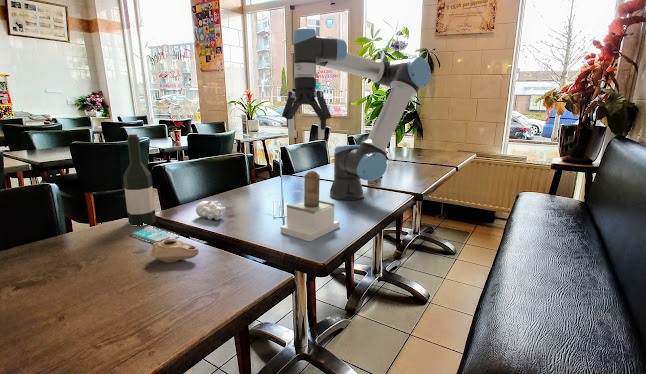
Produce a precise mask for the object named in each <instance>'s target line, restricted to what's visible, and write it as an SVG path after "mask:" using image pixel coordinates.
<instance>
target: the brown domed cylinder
mask: <svg viewBox="0 0 646 374" xmlns="http://www.w3.org/2000/svg"><path fill="white" fill-rule="evenodd" d="M320 178H321V177H320V174H318V172H316V171H314V170H309V171H308V172H307V173H306V174H304V181H303V182H304V186H303V187H304V189H303V190H304V191H303V192H304V193H303V195H304V196H303V198H304V199H303V202H304V206H305V207H310V208H314V207H318V206H319V200H320V182H321V181H320V180H321V179H320Z"/></svg>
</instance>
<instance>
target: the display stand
mask: <svg viewBox="0 0 646 374" xmlns="http://www.w3.org/2000/svg"><path fill="white" fill-rule="evenodd" d="M339 228H340V221H339V220H335V203H333V202H330V201H325V200H320V199H319V206H318V207H314V208H310V207H305V206H304V201H301V202H298V203H295V204H287V205H286V224H284V225H282V226H280V233H281V234H284V235H287V236H291V237H293V238H297V239H300V240H302V241H306V242H307V241H308V242H311V241H314V240H317V239H318V238H320V237H322V236H324V235H327V234H328V233H330V232H332V231H335V230H337V229H339Z"/></svg>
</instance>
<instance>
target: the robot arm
mask: <svg viewBox="0 0 646 374" xmlns="http://www.w3.org/2000/svg"><path fill="white" fill-rule="evenodd" d="M292 43H293V57H294V59H293V62H294V63H293V66H294V67H293V68H294V72H293V73H294V89H295V91H288V93H287V100H286V103H285V106H284V108H283V112H282V114H281V117H282V118H285V119H286V129H287V133H288V135H287V136H288V138H294V137H296V136H295V119H294V116H295V115H296V113H297V112H298V110H299V109H300V107H301V106H302V105H309V106H311V109H313V111H314V112H315V114H316V115H317V117H318V120H317V125H318V127H317V140H325V130H326V129H327V120H329V119H331V118H332V114H331V113H330V109H329V107H328V105H327V102H326V100H325V97H324V91H323V90H317V91H316V88H317V79H316V76H317V66H320V67H324V68H328V69H331V70H335V71H339V72H343V73H347V74H350V75H355V76H359V77H361V78H365V79H370V81H371V82H373V84H374V83H375V84H378V85H382V86H385V87H388V88H391V90H390V92H389V94H388V96H387V98H386V100H385V102H384V103H383V107H382V108H381V109H380V113H379V114H378V116H377V118H376V121H375V122H374V124H373V127H372V128H371V130H370V132H369V134H368V136H367V139H366V140H362V141H361V143H360V144H352V145H351V144H350V145H349V144H348V145H337V146H335V148H334V153H333V156H334V157H333V158H334V160H333V161H334V164H333V181H332V183H331V187H330V189H329V197H331V198H332V199H335V200H341V201H355V200H361V199H363V198H364V189H363V186H362V183H361V180H364V181H370V182H372V181H373V182H374V181H377V180H378V179H380V178H381V177H383V176H384V174H385V173H386V171H387V168H388V163H387V162H388V159H387V156H388V152H387V147H388V145H389V143H390V141H391V139H392V136H393V135H394V133H395V130H396V129H397V127H398V125H399V122H400V120H401V119H402V116H403V114H404V112H405V110H406V108H407V106H408V103H409V102H410V100H411V98H414V97H417V94H418V92H419V90H420V88H424V87H426V86H427V85H428V84H429V82H430V80H431V76H432V71H431V66H430V64H429V62H428V61H427V60H426V59H425V58H423V57H420V56H419V57H416V56H413V57H410V58H404V59H403V58H401V59H396V60H382V59H376V60H373V59H370V58H366V57H363V56H359V55H358V54H353V53H350V52H348V44H347V43H346V41H345V40H344V39H341V38H337V37H324V36H318V35H317V32H316V29H314V28H310V27H300V28H296V29H295V30H294V32H293V42H292ZM316 99H317V100H316Z"/></svg>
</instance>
